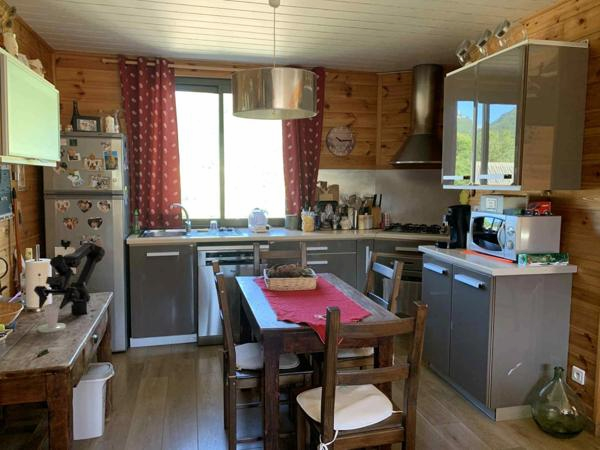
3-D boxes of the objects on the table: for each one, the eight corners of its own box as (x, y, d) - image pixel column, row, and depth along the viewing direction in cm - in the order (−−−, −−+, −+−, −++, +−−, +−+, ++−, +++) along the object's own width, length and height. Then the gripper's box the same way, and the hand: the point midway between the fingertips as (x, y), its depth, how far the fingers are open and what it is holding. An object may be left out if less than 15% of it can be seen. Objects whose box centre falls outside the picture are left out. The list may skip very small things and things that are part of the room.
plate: (63, 323, 217) (63, 321, 217) (67, 330, 208) (67, 328, 208) (36, 327, 211) (36, 325, 211) (39, 334, 202) (39, 332, 202)
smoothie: (53, 329, 206) (52, 298, 205) (40, 328, 207) (39, 297, 206) (63, 325, 212) (62, 294, 211) (50, 323, 214) (50, 293, 212)
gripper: (35, 268, 212) (20, 298, 202) (76, 269, 211) (63, 300, 201) (46, 281, 220) (32, 311, 210) (85, 283, 219) (73, 312, 210)
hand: (49, 308), depth 208 cm, fingers open, 9 cm apart
